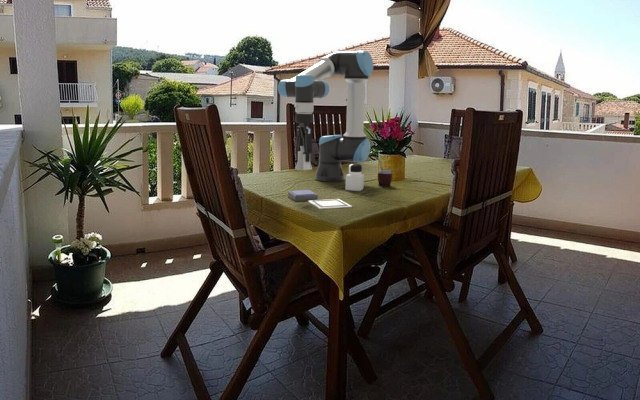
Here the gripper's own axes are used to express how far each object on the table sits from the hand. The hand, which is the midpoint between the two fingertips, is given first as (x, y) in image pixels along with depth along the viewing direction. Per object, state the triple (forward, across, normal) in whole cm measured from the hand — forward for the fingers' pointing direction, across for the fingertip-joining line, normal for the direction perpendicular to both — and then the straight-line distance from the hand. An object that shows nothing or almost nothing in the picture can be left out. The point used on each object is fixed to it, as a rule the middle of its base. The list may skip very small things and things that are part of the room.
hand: (303, 167), depth 208 cm
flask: (+1, 0, 0) cm, 1 cm away
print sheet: (+13, +14, +6) cm, 20 cm away
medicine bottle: (+14, -13, +30) cm, 35 cm away
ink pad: (+13, 0, 0) cm, 13 cm away
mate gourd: (+14, -18, +48) cm, 53 cm away
